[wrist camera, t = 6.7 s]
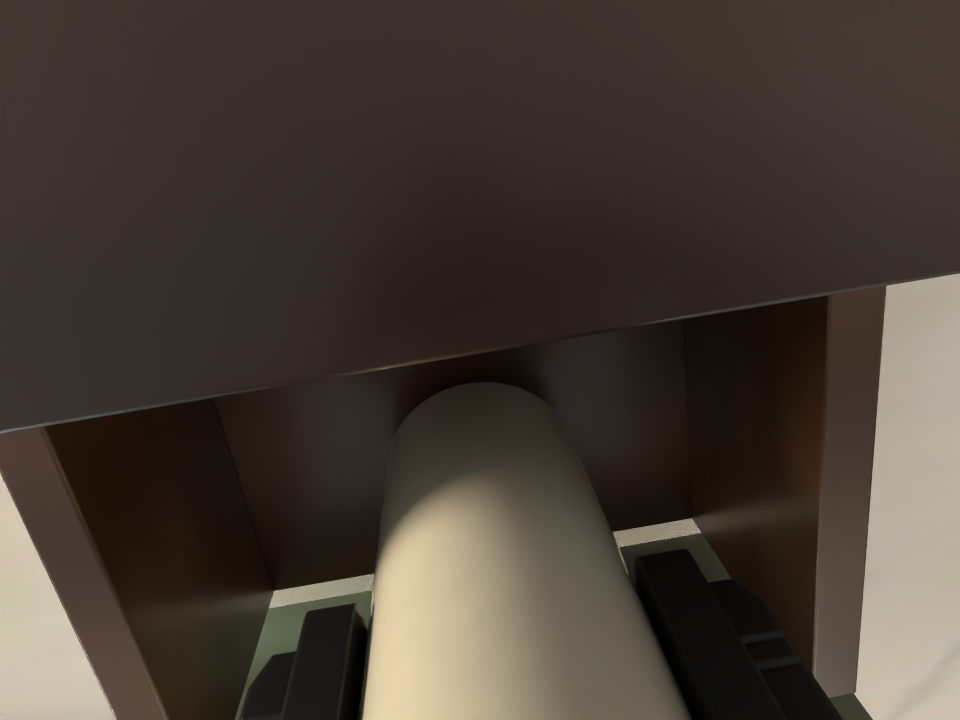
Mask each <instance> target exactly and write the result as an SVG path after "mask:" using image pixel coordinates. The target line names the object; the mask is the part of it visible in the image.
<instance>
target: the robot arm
mask: <svg viewBox="0 0 960 720" xmlns="http://www.w3.org/2000/svg"><path fill="white" fill-rule="evenodd" d="M635 580H636V587H637V590H638V592H639V594H640V597H641V599H642V601H643V604H644V606H645V608H646V611H647V613H648V615H649V617H650V620H651V622H652V624H653V627H654V629H655V631H656V634H657V636H658V638H659V641H660V643H661V645H662V647H663V650H664V652H665V654H666V657H667V659H668V661H669V664H670V666H671V668H672V670H673V673H674V675H675V677H676V680H677V682H678V684H679V687H680V689H681V691H682V694H683V696H684V698H685V700H686V703H687V705H688V707H689V710H690V712H691V714H692V717H693V719H694V720H843V718H842V717H841V716H840V714H839V713H838V711H837V710H836V708H835V707H834V705H833V704H832V702H831V701H830V699H829V698H828V696H827V695H826V693H825V692H824V690H823V689H822V687H821V686H820V684H819V683H818V681H817V680H816V679H815V677H814V676H813V674H812V673H811V671H810V670H809V668H808V667H807V665H806V664H805V663H802V661H801V656H800V655H799V653H798V652H797V650H796V649H795V647H794V646H793V645H792V643H791V642H790V640H789V639H788V637H785V636H784V632H783V630H782V628H781V627H780V625H779V624H778V622H777V621H776V619H775V618H774V616H773V615H772V613H771V612H770V611H769V609H768V608H767V606H766V605H765V603H764V602H763V601H762V600H761V599H759V598H758V597H757V596H755V595H754V594H752V593H751V592H750V591H748V590H747V589H746V588H744V587H743V586H741V585H740V584H739V583H737V582H736V581H735V580H733V579H727V580H721V581H715V582H709V583H708V582H707V580H706V579H705V577H704V575H703V573H702V572H701V570H700V568H699V567H698V565H697V563H696V561H695V560H694V558H693V556H692V555H691V553H690V552H689V551H688V550H687V549H679V550H673V551H667V552H661V553H655V554H649V555H643V556H637V557H636V558H635ZM367 631H368V627H367V623H366V619H365V615H364V612H363V609H362V607H361V605H360V604H359V603H352V604H346V605H340V606H334V607H328V608H322V609H316V610H310V611H308V612H307V613H306V615H305V617H304V621H303V625H302V629H301V633H300V637H299V641H298V645H297V649H296V651H294V652H288V653H282V654H276V655H272V657H271V658H270V659H269V661H268V662H267V663H266V665H265V666H264V667H263V669H262V670H261V671H260V673H259V674H258V676H257V677H256V678H255V680H254V681H253V682H252V684H251V685H250V686H249V688H248V691H247V695H246V698H245V701H244V704H243V708H242V711H241V714H240V717H239V720H357V716H358V708H359V699H360V691H361V682H362V673H363V665H364V656H365V648H366V639H367Z"/></svg>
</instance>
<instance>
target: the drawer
mask: <svg viewBox="0 0 960 720" xmlns="http://www.w3.org/2000/svg"><path fill="white" fill-rule="evenodd" d="M885 296H886V286H881V287H875V288H869V289H863V290H857V291H851V292H845V293H839V294H833V295H827V296H821V297H815V298H809V299H803V300H797V301H791V302H785V303H779V304H773V305H767V306H761V307H755V308H749V309H743V310H737V311H731V312H725V313H719V314H713V315H707V316H701V317H695V318H689V319H683V320H677V321H671V322H665V323H659V324H653V325H647V326H641V327H635V328H629V329H623V330H617V331H611V332H605V333H599V334H593V335H587V336H582V337H576V338H570V339H564V340H558V341H552V342H546V343H540V344H534V345H528V346H522V347H516V348H510V349H504V350H498V351H492V352H486V353H480V354H474V355H468V356H462V357H456V358H450V359H444V360H438V361H432V362H426V363H420V364H414V365H408V366H402V367H396V368H390V369H384V370H378V371H372V372H366V373H360V374H354V375H348V376H342V377H336V378H330V379H324V380H318V381H312V382H306V383H300V384H294V385H288V386H282V387H276V388H270V389H264V390H258V391H252V392H246V393H240V394H234V395H228V396H222V397H216V398H210V399H205V400H199V401H193V402H187V403H181V404H175V405H169V406H163V407H157V408H151V409H145V410H139V411H133V412H127V413H121V414H115V415H109V416H103V417H97V418H91V419H85V420H79V421H73V422H67V423H61V424H55V425H49V426H43V427H37V428H31V429H25V430H19V431H13V432H7V433H1V434H0V473H1V475H2V477H3V480H4V482H5V484H6V486H7V488H8V490H9V492H10V495H11V497H12V499H13V501H14V503H15V505H16V507H17V509H18V512H19V514H20V516H21V518H22V520H23V522H24V524H25V527H26V529H27V531H28V533H29V535H30V537H31V539H32V541H33V544H34V546H35V548H36V550H37V552H38V554H39V556H40V559H41V561H42V563H43V565H44V567H45V569H46V571H47V573H48V576H49V578H50V580H51V582H52V584H53V586H54V588H55V591H56V593H57V595H58V597H59V599H60V601H61V603H62V605H63V608H64V610H65V612H66V614H67V616H68V618H69V620H70V623H71V625H72V627H73V629H74V631H75V633H76V635H77V637H78V640H79V642H80V644H81V646H82V648H83V650H84V652H85V655H86V657H87V659H88V661H89V663H90V665H91V667H92V669H93V672H94V674H95V676H96V678H97V680H98V682H99V684H100V687H101V689H102V691H103V693H104V695H105V697H106V699H107V701H108V704H109V706H110V708H111V710H112V712H113V714H114V716H115V719H116V720H239V717H240V714H241V711H242V708H243V704H244V701H245V698H246V695H247V691H248V688H249V686H250V685H251V684H252V682H253V681H254V680H255V678H256V677H257V676H258V674H259V673H260V671H261V670H262V669H263V667H264V666H265V665H266V663H267V662H268V661H269V659H270V658H271V657H272V655H276V654H282V653H288V652H294V651H296V649H297V645H298V641H299V637H300V633H301V629H302V625H303V621H304V617H305V615H306V613H307V612H308V611H310V610H316V609H322V608H328V607H334V606H340V605H346V604H352V603H359V604H360V605H361V607H362V609H363V612H364V615H365V619H366V623H367V627H368V622H369V614H370V605H371V596H372V591H367V592H361V593H355V594H349V595H344V596H338V597H332V598H326V599H321V600H315V601H309V602H304V603H298V604H292V605H286V606H281V607H275V608H269V606H270V602H271V599H272V596H273V592H274V591H276V590H282V589H288V588H293V587H299V586H305V585H311V584H316V583H322V582H328V581H334V580H339V579H345V578H351V577H357V576H362V575H368V574H374V571H375V562H376V554H377V545H378V537H379V528H380V519H381V511H382V502H383V494H384V485H385V477H386V468H387V460H388V455H389V449H390V446H391V444H392V441H393V438H394V436H395V434H396V432H397V430H398V428H399V427H400V426H401V424H402V423H403V421H404V420H405V418H406V417H407V416H408V415H409V414H410V413H411V412H412V411H413V410H414V409H415V408H416V407H418V406H419V405H420V404H421V403H422V402H424V401H425V400H427V399H428V398H430V397H432V396H433V395H435V394H437V393H439V392H441V391H443V390H446V389H449V388H452V387H455V386H458V385H463V384H468V383H477V382H495V383H502V384H508V385H512V386H515V387H518V388H521V389H524V390H526V391H528V392H530V393H532V394H534V395H536V396H537V397H539V398H540V399H542V400H543V401H545V402H546V403H547V404H548V405H549V406H551V407H552V408H553V409H554V411H555V412H556V413H557V414H558V415H559V416H560V418H561V419H562V421H563V422H564V423H565V425H566V427H567V429H568V431H569V433H570V435H571V438H572V440H573V442H574V444H575V447H576V449H577V451H578V454H579V456H580V458H581V461H582V463H583V465H584V468H585V470H586V472H587V474H588V477H589V479H590V481H591V484H592V486H593V488H594V491H595V493H596V495H597V498H598V500H599V502H600V504H601V507H602V509H603V511H604V514H605V516H606V518H607V521H608V523H609V525H610V527H611V530H612V532H615V531H621V530H627V529H632V528H638V527H644V526H650V525H655V524H661V523H667V522H672V521H678V520H684V519H690V518H692V519H693V520H694V522H695V523H696V525H697V527H698V528H699V530H700V531H701V533H699V534H693V535H687V536H681V537H676V538H670V539H664V540H659V541H653V542H647V543H641V544H636V545H630V546H624V547H619V548H620V551H621V553H622V555H623V557H624V560H625V562H626V564H627V567H628V569H629V571H630V574H631V576H632V578H633V581H634V583H635V585H636V580H635V558H636V557H637V556H643V555H649V554H655V553H661V552H667V551H673V550H679V549H687V550H688V551H689V552H690V553H691V555H692V556H693V558H694V560H695V561H696V563H697V565H698V567H699V568H700V570H701V572H702V573H703V575H704V577H705V579H706V580H707V582H708V583H709V582H715V581H721V580H727V579H733V580H735V581H736V582H737V583H739V584H740V585H741V586H743V587H744V588H746V589H747V590H748V591H750V592H751V593H752V594H754V595H755V596H757V597H758V598H759V599H761V600H762V601H763V602H764V603H765V605H766V606H767V608H768V609H769V611H770V612H771V613H772V615H773V616H774V618H775V619H776V621H777V622H778V624H779V625H780V627H781V628H782V630H783V632H784V636H785V637H788V639H789V640H790V642H791V643H792V645H793V646H794V647H795V649H796V650H797V652H798V653H799V655H800V656H801V661H802V663H805V664H806V665H807V667H808V668H809V670H810V671H811V673H812V674H813V676H814V677H815V679H816V680H817V681H818V683H819V684H820V686H821V687H822V689H823V690H824V692H825V693H826V695H827V696H828V698H829V699H830V701H831V702H832V704H833V705H834V707H835V708H836V710H837V711H838V713H839V714H840V716H841V717H842V718H843V720H873V719H872V718H871V717H870V715H869V714H868V712H867V711H866V710H865V708H864V707H863V706H862V704H861V703H860V702H859V700H858V699H857V697H856V696H855V695H854V693H855V692H856V681H857V668H858V655H859V641H860V628H861V615H862V602H863V588H864V575H865V562H866V548H867V535H868V522H869V509H870V495H871V482H872V469H873V456H874V442H875V429H876V416H877V402H878V389H879V376H880V363H881V349H882V336H883V323H884V310H885Z"/></svg>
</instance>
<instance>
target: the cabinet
mask: <svg viewBox="0 0 960 720" xmlns="http://www.w3.org/2000/svg"><path fill="white" fill-rule="evenodd" d="M959 273H960V0H0V434H1V433H7V432H13V431H19V430H25V429H31V428H37V427H43V426H49V425H55V424H61V423H67V422H73V421H79V420H85V419H91V418H97V417H103V416H109V415H115V414H121V413H127V412H133V411H139V410H145V409H151V408H157V407H163V406H169V405H175V404H181V403H187V402H193V401H199V400H205V399H210V398H216V397H222V396H228V395H234V394H240V393H246V392H252V391H258V390H264V389H270V388H276V387H282V386H288V385H294V384H300V383H306V382H312V381H318V380H324V379H330V378H336V377H342V376H348V375H354V374H360V373H366V372H372V371H378V370H384V369H390V368H396V367H402V366H408V365H414V364H420V363H426V362H432V361H438V360H444V359H450V358H456V357H462V356H468V355H474V354H480V353H486V352H492V351H498V350H504V349H510V348H516V347H522V346H528V345H534V344H540V343H546V342H552V341H558V340H564V339H570V338H576V337H582V336H587V335H593V334H599V333H605V332H611V331H617V330H623V329H629V328H635V327H641V326H647V325H653V324H659V323H665V322H671V321H677V320H683V319H689V318H695V317H701V316H707V315H713V314H719V313H725V312H731V311H737V310H743V309H749V308H755V307H761V306H767V305H773V304H779V303H785V302H791V301H797V300H803V299H809V298H815V297H821V296H827V295H833V294H839V293H845V292H851V291H857V290H863V289H869V288H875V287H881V286H887V285H893V284H899V283H905V282H911V281H917V280H923V279H929V278H935V277H941V276H947V275H953V274H959Z"/></svg>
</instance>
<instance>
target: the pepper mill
mask: <svg viewBox="0 0 960 720" xmlns="http://www.w3.org/2000/svg"><path fill="white" fill-rule="evenodd" d="M357 720H694V719H693V717H692V714H691V712H690V710H689V707H688V705H687V703H686V700H685V698H684V696H683V694H682V691H681V689H680V687H679V684H678V682H677V680H676V677H675V675H674V673H673V670H672V668H671V666H670V664H669V661H668V659H667V657H666V654H665V652H664V650H663V647H662V645H661V643H660V641H659V638H658V636H657V634H656V631H655V629H654V627H653V624H652V622H651V620H650V617H649V615H648V613H647V611H646V608H645V606H644V604H643V601H642V599H641V597H640V594H639V592H638V590H637V587H636V585H635V583H634V581H633V578H632V576H631V574H630V571H629V569H628V567H627V564H626V562H625V560H624V557H623V555H622V553H621V551H620V548H619V546H618V544H617V541H616V539H615V537H614V534H613V532H612V530H611V527H610V525H609V523H608V521H607V518H606V516H605V514H604V511H603V509H602V507H601V504H600V502H599V500H598V498H597V495H596V493H595V491H594V488H593V486H592V484H591V481H590V479H589V477H588V474H587V472H586V470H585V468H584V465H583V463H582V461H581V458H580V456H579V454H578V451H577V449H576V447H575V444H574V442H573V440H572V438H571V435H570V433H569V431H568V429H567V427H566V425H565V423H564V422H563V421H562V419H561V418H560V416H559V415H558V414H557V413H556V412H555V411H554V409H553V408H552V407H551V406H549V405H548V404H547V403H546V402H545V401H543V400H542V399H540V398H539V397H537V396H536V395H534V394H532V393H530V392H528V391H526V390H524V389H521V388H518V387H515V386H512V385H508V384H502V383H495V382H477V383H468V384H463V385H458V386H455V387H452V388H449V389H446V390H443V391H441V392H439V393H437V394H435V395H433V396H432V397H430V398H428V399H427V400H425V401H424V402H422V403H421V404H420V405H419V406H418V407H416V408H415V409H414V410H413V411H412V412H411V413H410V414H409V415H408V416H407V417H406V418H405V420H404V421H403V423H402V424H401V426H400V427H399V428H398V430H397V432H396V434H395V436H394V438H393V441H392V444H391V446H390V449H389V455H388V460H387V468H386V477H385V485H384V494H383V502H382V511H381V519H380V528H379V537H378V545H377V554H376V562H375V571H374V579H373V588H372V596H371V605H370V614H369V622H368V631H367V639H366V648H365V656H364V665H363V673H362V682H361V691H360V699H359V708H358V716H357Z"/></svg>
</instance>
